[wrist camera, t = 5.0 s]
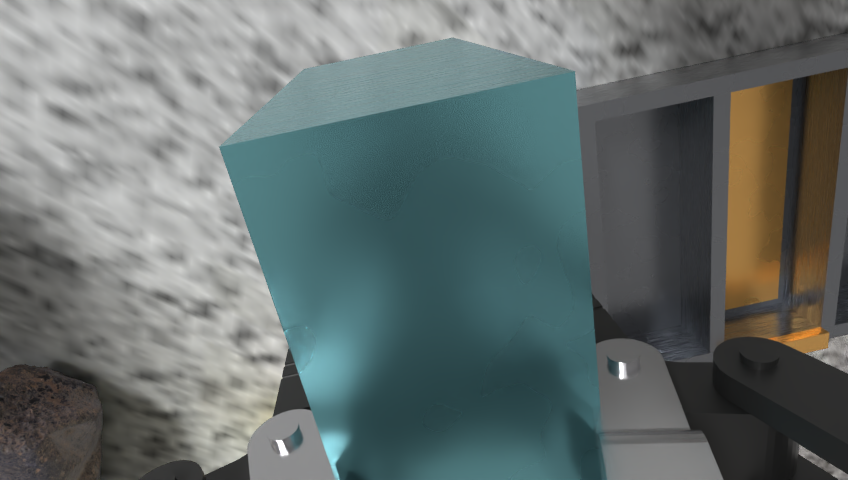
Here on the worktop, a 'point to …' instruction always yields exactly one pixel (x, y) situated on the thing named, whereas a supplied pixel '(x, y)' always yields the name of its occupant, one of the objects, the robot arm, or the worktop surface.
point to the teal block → (430, 261)
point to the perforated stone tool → (48, 426)
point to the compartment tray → (722, 200)
